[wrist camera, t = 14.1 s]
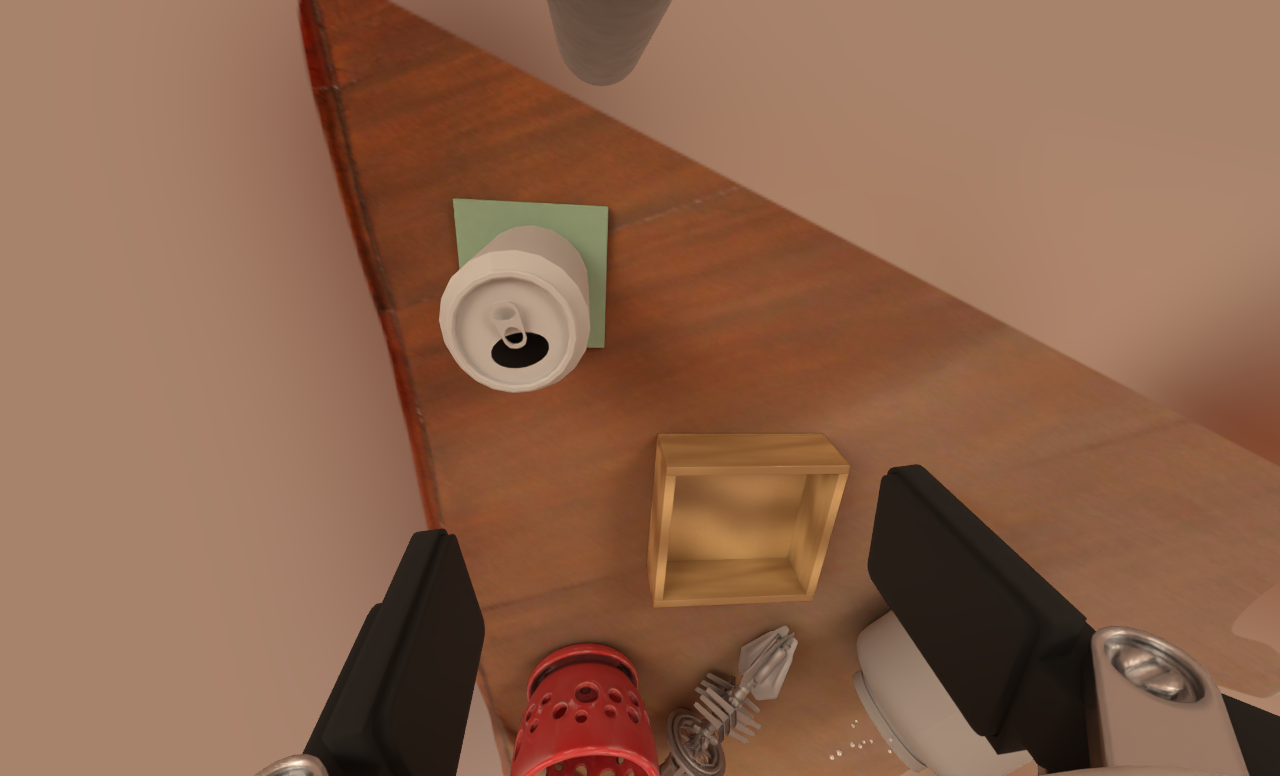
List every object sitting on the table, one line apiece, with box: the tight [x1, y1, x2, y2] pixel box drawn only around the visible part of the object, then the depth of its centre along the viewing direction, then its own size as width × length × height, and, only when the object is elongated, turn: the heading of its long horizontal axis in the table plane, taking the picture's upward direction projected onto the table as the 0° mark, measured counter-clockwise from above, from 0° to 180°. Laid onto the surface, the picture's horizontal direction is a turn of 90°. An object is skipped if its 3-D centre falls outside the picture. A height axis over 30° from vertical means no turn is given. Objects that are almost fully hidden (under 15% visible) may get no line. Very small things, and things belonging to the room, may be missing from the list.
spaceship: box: [659, 625, 798, 776], centre depth 54 cm, size 8×35×8 cm
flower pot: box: [510, 643, 660, 776], centre depth 47 cm, size 13×13×12 cm
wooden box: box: [647, 434, 850, 608], centre depth 43 cm, size 15×15×5 cm
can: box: [439, 225, 590, 393], centre depth 29 cm, size 8×8×12 cm
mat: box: [453, 198, 608, 348], centre depth 34 cm, size 10×10×1 cm
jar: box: [830, 610, 1034, 776], centre depth 48 cm, size 19×15×25 cm
